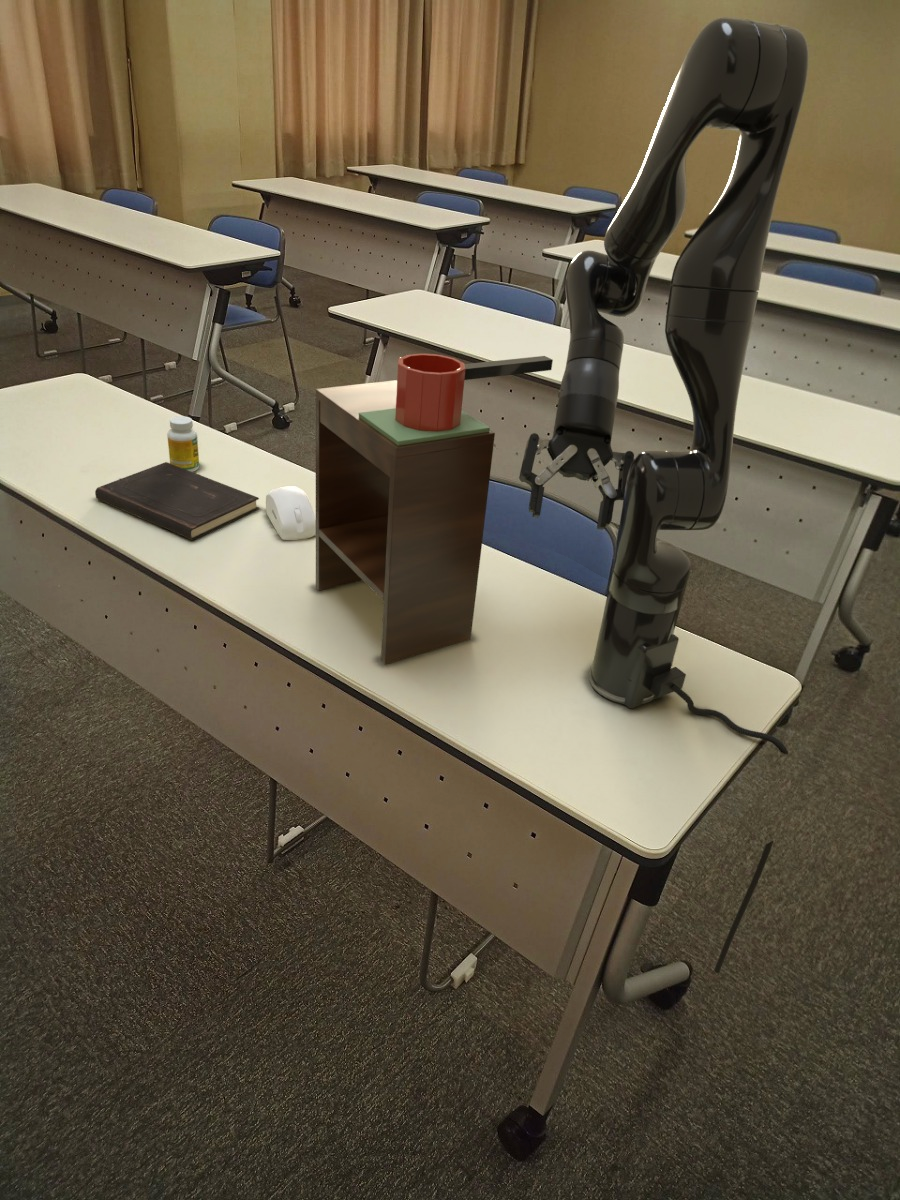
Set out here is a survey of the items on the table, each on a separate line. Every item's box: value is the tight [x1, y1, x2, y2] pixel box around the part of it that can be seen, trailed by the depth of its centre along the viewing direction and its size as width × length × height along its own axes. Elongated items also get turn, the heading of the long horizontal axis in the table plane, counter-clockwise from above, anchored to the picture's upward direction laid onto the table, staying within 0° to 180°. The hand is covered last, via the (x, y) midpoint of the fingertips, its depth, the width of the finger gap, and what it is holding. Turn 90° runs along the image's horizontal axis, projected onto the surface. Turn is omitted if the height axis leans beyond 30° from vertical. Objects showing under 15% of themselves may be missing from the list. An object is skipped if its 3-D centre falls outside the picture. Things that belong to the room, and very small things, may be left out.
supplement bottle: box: [166, 415, 200, 473], centre depth 159 cm, size 5×5×10 cm
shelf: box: [315, 379, 496, 665], centre depth 117 cm, size 22×14×31 cm, turn 32°
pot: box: [395, 352, 554, 432], centre depth 106 cm, size 8×22×7 cm, turn 122°
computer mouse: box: [265, 485, 316, 541], centre depth 144 cm, size 6×13×6 cm, turn 24°
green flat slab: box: [359, 408, 491, 446], centre depth 105 cm, size 10×13×1 cm
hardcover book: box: [94, 461, 260, 541], centre depth 148 cm, size 16×23×2 cm
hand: (568, 522), depth 108 cm, fingers open, 8 cm apart
